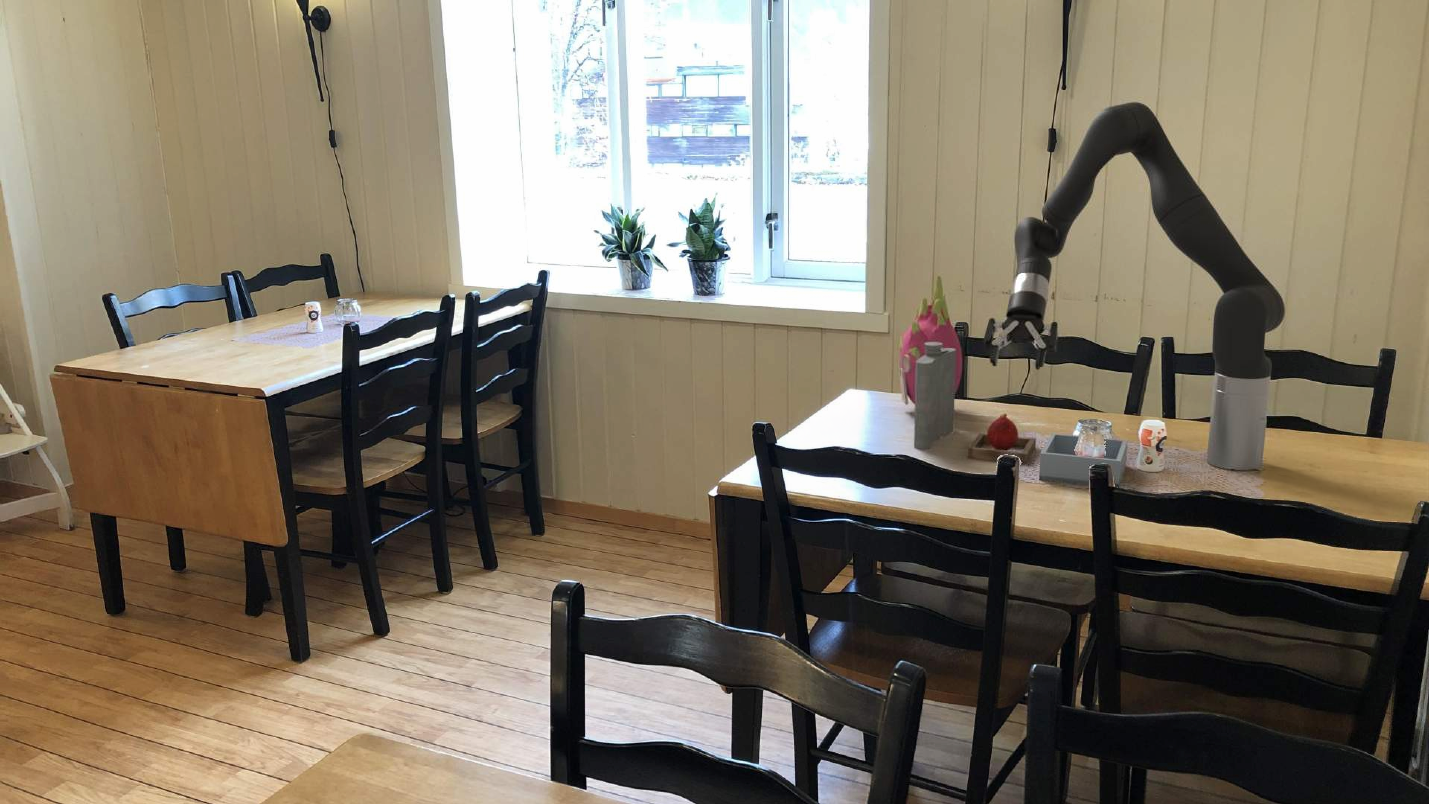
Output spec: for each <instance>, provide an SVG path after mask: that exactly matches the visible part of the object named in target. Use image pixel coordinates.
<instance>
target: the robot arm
mask: <svg viewBox="0 0 1429 804" xmlns="http://www.w3.org/2000/svg"><path fill="white" fill-rule="evenodd" d="M1127 153H1128V154H1129V153H1131V154H1132V155H1133V157H1134V158H1136V160H1137V162H1138V163H1139V164H1140V165H1141V167H1142V169H1143V170H1144V172H1145V174H1146V176H1147V179H1148V181H1149V186H1150V187H1149V188H1150V198H1151V206H1152V213H1153V214H1154V217H1155V219H1156V221H1157V222H1158V224H1159V226H1160V227H1161V229H1162V230H1163V232H1164V233H1165V234H1166V235H1167V237H1168V239H1169V240H1170V242H1171V243H1172V244H1173V245H1174V246H1175V248H1177V249H1178V250H1179V251H1180V252H1181V253H1182V254H1183V255H1185V256H1186V257H1187V258H1188V259H1189V260H1191V261H1192V262H1194V263H1195V264H1197V266H1199V267H1200V268H1201V269H1202V270H1203V271H1205V272H1206V273H1207V274H1209V275H1210V277H1211V278H1212V279H1213V280H1214V281H1215V282H1216V284H1217V285H1218V287H1219V288H1220V290H1221V292H1222V293H1223V294H1222V295H1221V297H1219V299H1218V301H1217V302H1216V306H1215V308H1214V315H1213V326H1212V327H1213V328H1212V347H1211V350H1212V351H1211V352H1212V357H1213V360H1214V363H1215V364H1214V365H1215V366H1214V367H1215V368H1214V377H1213V378H1214V380H1213V389H1212V390H1213V391H1212V400H1211V412H1210V419H1209V421H1210V422H1209V432H1208V441H1207V442H1208V443H1207V452H1206V453H1207V455H1206V462H1207V463H1208V464H1210V465H1212V466H1214V467H1217V468H1221V469H1225V470H1231V469H1235V470H1234V471H1248V470H1247V469H1262V468H1263V460H1264V449H1265V439H1266V432H1267V422H1268V421H1267V418H1268V417H1267V414H1268V406H1269V405H1268V404H1269V395H1270V394H1269V393H1270V386H1271V385H1270V384H1271V375H1272V367H1273V363H1272V360H1271V358H1270V357H1268V356H1266V353H1265V343H1266V333H1269V332H1272V331H1274V330H1276V329H1277V328H1278V327H1279V326H1280V325H1281V324H1282V322H1283V320H1284V317H1285V314H1286V310H1285V303H1284V299H1283V298H1282V296H1281V294H1280V292H1279V291H1278V290H1277V288H1276V287H1275V286H1274V285H1273V284H1272V282H1270V280H1269V279H1268V278H1267V277H1266V276H1265V275H1264V274H1263V273H1262V272H1261V270H1260V269H1259V268H1258V267H1257V266H1256V265H1255V263H1253V261H1252V260H1251V259H1250V258H1249V257H1248V255H1247V254H1246V253H1245V251H1244V250H1243V249H1242V247H1241V245H1240V244H1239V242H1238V241H1237V240H1236V237H1234V235H1233V234H1232V232H1231V230H1230V229H1229V228H1228V226H1227V225H1226V223H1225V222H1224V221H1223V219H1222V217H1221V216H1220V215H1219V213H1218V212H1217V209H1215V207H1214V205H1213V204H1212V203H1211V201H1210V200H1209V199H1208V197H1207V195H1206V194H1205V193H1204V191H1203V189H1201V187H1200V186H1199V185H1198V184H1197V182H1196V181H1195V180H1194V178H1193V176H1192V175H1191V174H1190V171H1189V170H1188V169H1187V167H1186V165H1185V164H1184V163H1183V161H1182V160H1181V159H1180V157H1179V156H1178V154H1177V152H1176V150H1175V148H1174V147H1173V146H1172V144H1171V142H1170V140H1169V138H1168V136H1167V134H1166V132H1165V131H1164V128H1163V127H1162V125H1161V123H1160V122H1159V120H1158V118H1157V116H1156V115H1155V113H1154V112H1153V111H1152V110H1151V108H1149V107H1148V106H1147V105H1146V104H1144V103H1141V102H1138V101H1133V102H1132V101H1131V102H1125V103H1121V104H1116V105H1112V106H1108V107H1106V108H1104V109H1102V110H1101V111H1099V112H1098V113H1097V114H1096V115H1095V117H1094V118H1093V120H1092V121H1091V123H1090V126H1089V127H1088V129H1087V131H1086V133H1085V135H1084V137H1083V139H1082V142H1081V143H1080V146H1079V147H1078V150H1077V151H1076V154H1075V156H1074V158H1073V160H1072V162H1071V163H1070V166H1069V167H1068V169H1067V170H1066V173H1065V174H1064V176H1063V177H1062V179H1061V181H1060V182H1059V183H1058V185H1056V187H1055V189H1054V190H1053V192H1052V193H1051V194H1050V196H1049V197H1048V198H1047V199H1046V201H1045V202H1044V204H1043V206H1042V207H1041V215H1042V217H1043V219H1044V220H1045V221H1044V220H1042V219H1041V218H1040V219H1039V218H1038V217H1034V216H1028V217H1025V218H1023V219H1022V220H1021V221H1020V222H1019V223H1018V225H1017V226H1016V229H1015V231H1014V240H1013V241H1014V248H1015V256H1016V271H1015V275H1014V280H1013V283H1012V286H1011V289H1010V294H1009V299H1008V305H1007V309H1006V313H1005V319H1004V320H1002V321H997V320H996V319H995V318H994V317H990V318H989V320H988V322H987V325H986V329H985V333H984V335H983V336H984V337H983V344H984V347H985V349H990V353H989V362H990V364H991V365H992V367H997V366H998V362H999V361H998V360H999V355H1000V350H1001V349H1002V348H1003V347H1006V346H1008V345H1009V344H1010V343H1011V342H1012V343H1013V344H1018V343H1019V344H1021V343H1022V344H1025V345H1026V344H1030V343H1032V344H1033V346H1034V347H1035V349H1037V353H1036V357H1035V363H1034V364H1035V366H1034V367H1035V370H1037V371H1038V370H1040V369H1041V368H1043V367H1044V365H1045V361H1046V360H1045V359H1046V355H1047V354H1048V353H1049V354H1051V353H1052V354H1054V353H1056V352H1057V346H1058V336H1059V326H1058V322H1057V321H1052V322H1051V324H1050V323H1046V324H1045V323H1044V320H1045V315H1046V308H1047V304H1048V301H1049V298H1048V297H1049V286H1050V280H1051V274H1052V268H1053V267H1052V266H1053V265H1052V263H1051V261H1050V259H1053V258H1056V257H1057V256H1058V255H1060V253H1062V251H1063V250H1064V247H1065V245H1066V241H1067V237H1068V234H1069V232H1070V230H1071V227H1072V226H1073V223H1074V222H1075V220H1076V219H1077V218H1078V217H1079V215H1080V214H1081V213H1082V211H1083V210H1084V209H1085V207H1086V206H1087V204H1088V203H1089V201H1090V199H1091V197H1092V195H1093V193H1094V187H1095V182H1096V179H1097V177H1098V175H1099V173H1100V172H1101V170H1102V169H1103V168H1104V167H1105V166H1106V165H1107V164H1108V163H1109V162H1110V161H1111V160H1112V159H1113V158H1114V157H1115V156H1119V155H1121V156H1122V155H1125V154H1127ZM999 329H1002V331H1001V332H1000V333H999V334H998V336H997V337H996V338H995V339H994V337H995V333H997V332H998V331H999ZM1045 331H1046V332H1047V335H1048V336H1049V343H1045V342H1044V341H1043V339H1042V337H1041V335H1042V334H1043V333H1044V332H1045Z"/></svg>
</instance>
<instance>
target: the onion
mask: <svg viewBox="0 0 1429 804" xmlns="http://www.w3.org/2000/svg"><path fill="white" fill-rule="evenodd" d="M1007 416H1008V414H1006V413H1005V412H1003V413H1000V415H999V417H998V418H997V419H995V420H994V421H993V422H992V423H991V424H990V425H989V427H988V430H987V433H986V434H987V436H988V441H989V443H990V445H989V446H991V447H992V449H997V450H1007V451H1010V449H1011V448H1014V447H1013V446H1014V445H1015V443H1016V442H1017V439H1018V437H1019V432H1018V431H1019V430H1018V429H1017V426H1016V424H1015V423H1014V422H1013V421H1012V420H1011V419H1009V418H1008V417H1007Z"/></svg>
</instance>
